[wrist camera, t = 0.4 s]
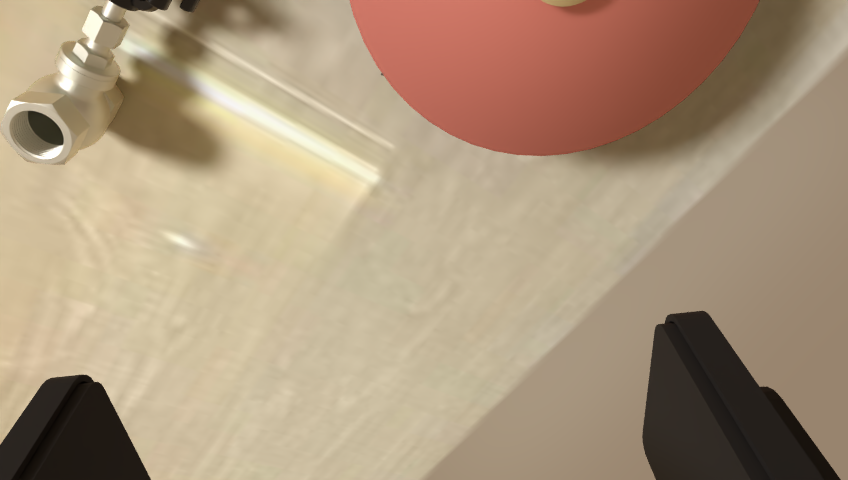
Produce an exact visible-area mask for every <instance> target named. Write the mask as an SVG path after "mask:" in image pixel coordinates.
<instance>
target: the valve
mask: <svg viewBox="0 0 848 480" xmlns="http://www.w3.org/2000/svg"><path fill="white" fill-rule="evenodd" d="M171 1H172V0H106V1H105V4H104V6H103V7H102V6H96V7H94V8H92V9H91V11H90V13H89V15H88V17H87V20H86V22H85V24H84V26H83V29H82V31H83V32H84V33H85V34H86V35H87V36H88V37H87V38H82V39H80V40H79V41H77V42H75V41H67V42H64V43H63V44H62V45H61V47H60V49H59V51H58V54H57V56H56V58H55V65H56V67H57V69H58V73H55V74H50V75H47V76H44V77H42V78H40V79H38V80H37V81H36V82H34V83H33V84H32V85H31V86H30V87H29V88H28V90H27V91H26V92H25V93H23V94H21V95H20V96H18V97H16V98H15V99H13V100H12V101H11V103H10V104H9V106H8V108H7V111H6V113H5V115H4V118H3V120H2V123H1V126H0V131H1V133H2V135H3V136H4V138H5V139H6V140H7V142H8V143H9V144H10V145H11V147H12V148H13V149H14V150H15V151H16V152H17V153H18V154H19V155H20V156H21V157H22V158H23V159H24V160H26V161H27V162H32V163H40V164H54V165H61V164H66V163H67V162H68V161H69V160H70V159H71V158H72V157H73V156H75V155H76V154H77V153H78V150H81V149H84V148H87V147H89V146H91V145H93V144H94V143H96V142H97V141H98V140H99V139H100V138H101V137H102V136H103V135H104V133H105V132H106V130H107V128H108V125H109V124H110V123H111V122H112V121H113V119H114V117H115V115H116V113H117V111H118V109H119V107H120V105H121V103H122V101H123V99H124V96H123V94H122V93H121V91H120V90H119V89H118V87H117V86H116V84H115V83H116V81H117V79H118V77H119V75H120V72H121V71H120V67H119V65H118V64H117V63H116V62H115V61H114V60H113V59H114V57H115V56H114V54H113V53H112V52H111V50H110V49H115V48H116V47H118V46H119V45H120V44H121V42H122V40H123V38H124V36H125V34H126V32H127V30H128V28H129V26H130V25H129V24H128V22H127V21H126V20H125V19H124V18H123V17H124V14H125V12H126V10H130V11H138V10H142V11H147V12H153V11H156V10H157V9H160V10H167V9H168V7H169V5H170V3H171ZM199 1H200V0H183V1H182V3H181V5H180V8H181V9H183V10H185V11H187V12H194V11H195V9H196V7H197V5H198V3H199Z"/></svg>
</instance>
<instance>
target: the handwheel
mask: <svg viewBox="0 0 848 480" xmlns="http://www.w3.org/2000/svg"><path fill="white" fill-rule="evenodd" d="M759 1H760V0H350V3H351V7H352V11H353V15H354V18H355V20H356V23H357V25H358V28H359V30H360V33H361V36H362V38H363V41H364V43H365V45H366V46H367V48H368V50H369V52H370V54H371V56H372V58H373V59H374V61H375V63H376V65H377V66H378V68H379V69H380V71H381V72H382V73H383V75H384V76H385V78H386V79H387V80H388V82H389V83H390V84H391V86H392V87H393V88H394V89H395V90H396V91H397V93H398V94H399V95H400V96H401V97H402V98H403V99H404V100H405V101H406V102H407V103H408V104H409V105H410V106H411V107H412V108H413V109H415V110H416V111H417V112H418V113H419V114H421V115H422V116H423V117H424V118H426V119H427V120H428V121H429V122H431V123H432V124H434V125H436V126H437V127H439V128H441V129H442V130H444V131H445V132H447V133H449V134H450V135H453V136H455V137H457V138H459V139H462V140H464V141H466V142H468V143H470V144H473V145H476V146H480V147H483V148H486V149H490V150H493V151H498V152H504V153H510V154H516V155H533V156H546V155H558V154H568V153H573V152H578V151H583V150H588V149H592V148H595V147H598V146H601V145H604V144H607V143H610V142H613V141H616V140H618V139H620V138H623V137H625V136H627V135H629V134H631V133H634V132H636V131H638V130H640V129H641V128H643V127H645V126H646V125H648V124H650V123H652V122H653V121H655V120H657V119H658V118H660V117H662V116H663V115H664V114H666V113H667V112H668V111H670V110H671V109H672V108H674V107H675V106H676V105H678V104H679V103H680V102H682V101H683V100H684V99H685V98H686V97H687V96H689V95H690V94H691V93H692V92H693V91H694V90H695V89H696V88H697V87H698V86H699V85H700V84H702V83H703V82H704V81H705V80H706V78H707V77H708V76H709V75H710V74H711V73H712V72H713V71H714V69H715V68H716V67H717V66H718V65H719V64H720V63H721V62H722V60H723V59H724V58H725V56H726V55H727V54H728V52H729V51H730V49H731V48H732V47H733V45H734V44H735V42H736V41H737V40H738V38H739V37H740V35H741V34H742V32H743V30H744V29H745V27H746V25H747V23H748V22H749V20H750V18H751V16H752V15H753V13H754V11H755V9H756V7H757V5H758V3H759Z"/></svg>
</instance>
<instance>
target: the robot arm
mask: <svg viewBox="0 0 848 480" xmlns="http://www.w3.org/2000/svg"><path fill="white" fill-rule="evenodd" d="M643 445H644V450H645V454H646V457H647V459H648V462H649V464H650V466H651V469H652V471H653V473H654V476H655V478H656V480H840V478H839V477H838V475H837V474H836V473H835V471H834V470H833V468H832V467H831V466H830V464H829V463H828V462H827V460H826V459H825V457H824V456H823V455H822V453H821V452H820V451H819V449H818V448H817V446H816V445H815V444H814V442H813V441H812V440H811V438H810V437H809V435H808V434H807V433H806V431H805V430H804V429H803V427H802V426H801V424H800V423H799V422H798V420H797V419H796V417H795V416H794V415H793V413H792V412H791V410H790V409H789V408H788V407H787V405H786V404H785V402H784V401H783V399H782V398H781V397H780V396H779V395H778V394H777V393H776V392H775V391H774V390H773V389H771V388H769V387H759V386H758V384H757V383H756V381H755V380H754V378H753V377H752V376H751V374H750V373H749V371H748V370H747V368H746V367H745V366H744V364H743V363H742V361H741V360H740V358H739V357H738V356H737V354H736V353H735V351H734V350H733V348H732V347H731V345H730V344H729V343H728V341H727V340H726V338H725V337H724V335H723V334H722V332H721V331H720V330H719V328H718V327H717V325H716V324H715V323H714V321H713V320H712V318H711V317H710V316H709V314H708V313H706V312H705V311H697V312H687V313H678V314H670V315H668V316H667V317H666V320H665V324H658V325H657V326H656V328H655V334H654V341H653V350H652V358H651V367H650V376H649V384H648V392H647V401H646V409H645V418H644V426H643ZM0 480H151V479H150V477H149V475H148V473H147V471H146V469H145V467H144V465H143V463H142V461H141V459H140V457H139V455H138V453H137V452H136V450H135V448H134V446H133V444H132V442H131V440H130V438H129V436H128V434H127V432H126V430H125V428H124V426H123V424H122V422H121V420H120V418H119V416H118V414H117V412H116V411H115V409H114V407H113V405H112V403H111V401H110V399H109V397H108V395H107V393H106V391H105V389H104V387H103V386H102V384H100V383H99V382H94V381H93V380H92V378H91V377H89V376H88V375H75V376H65V377H55V378H50V379H48V380H46V381H45V382H44V383H43V384H42V386H41V387H40V388H39V390H38V391H37V393H36V394H35V396H34V397H33V398H32V400H31V401H30V403H29V404H28V406H27V407H26V409H25V410H24V411H23V413H22V414H21V416H20V417H19V419H18V420H17V422H16V423H15V424H14V426H13V427H12V429H11V430H10V432H9V433H8V435H7V436H6V437H5V439H4V440H3V442H2V443H1V445H0Z"/></svg>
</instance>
